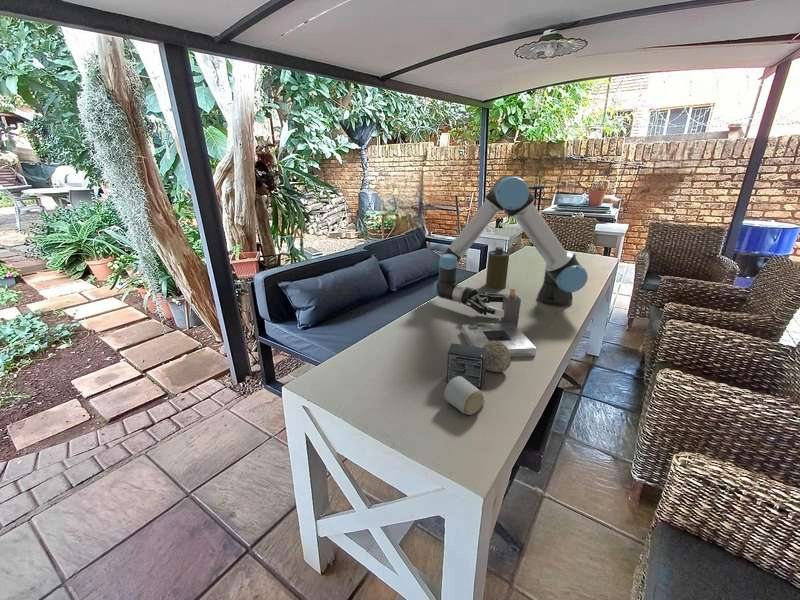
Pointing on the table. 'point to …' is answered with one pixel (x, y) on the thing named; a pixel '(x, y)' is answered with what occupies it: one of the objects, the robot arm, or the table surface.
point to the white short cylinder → (464, 395)
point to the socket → (499, 337)
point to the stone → (497, 356)
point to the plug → (511, 308)
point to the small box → (467, 363)
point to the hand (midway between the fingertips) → (512, 308)
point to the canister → (497, 269)
